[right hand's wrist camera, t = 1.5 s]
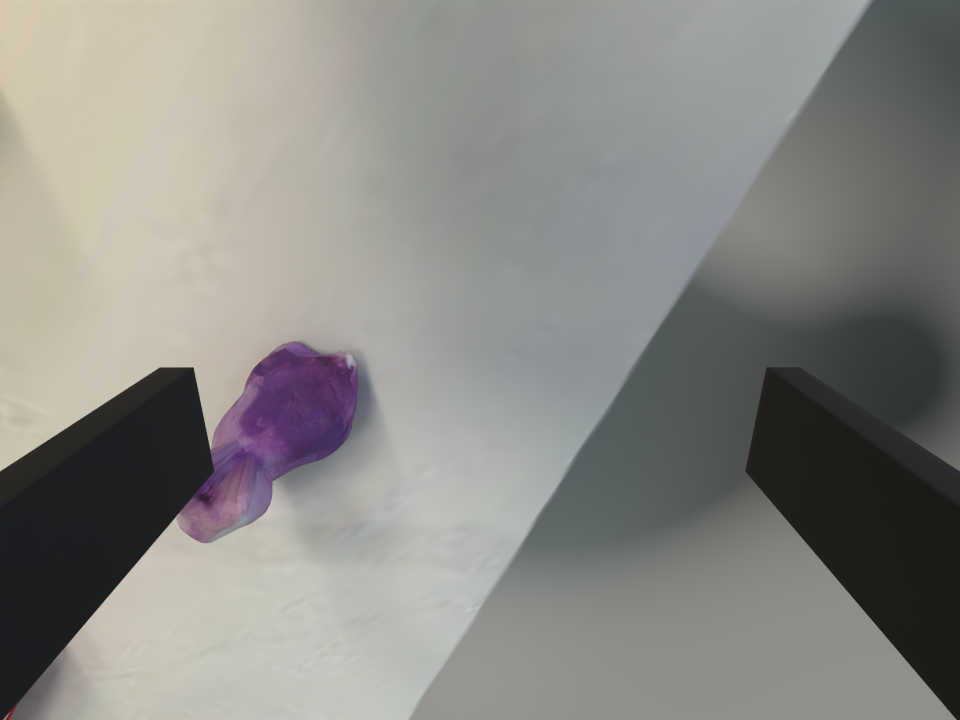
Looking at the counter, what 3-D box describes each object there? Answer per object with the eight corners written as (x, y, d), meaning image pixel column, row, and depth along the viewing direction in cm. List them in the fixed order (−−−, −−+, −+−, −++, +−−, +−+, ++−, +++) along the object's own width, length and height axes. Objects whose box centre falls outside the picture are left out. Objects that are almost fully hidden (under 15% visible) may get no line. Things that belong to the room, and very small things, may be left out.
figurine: (246, 457, 43) (131, 602, 28) (234, 335, 39) (95, 431, 25) (365, 463, 43) (309, 610, 29) (363, 342, 39) (298, 442, 25)
